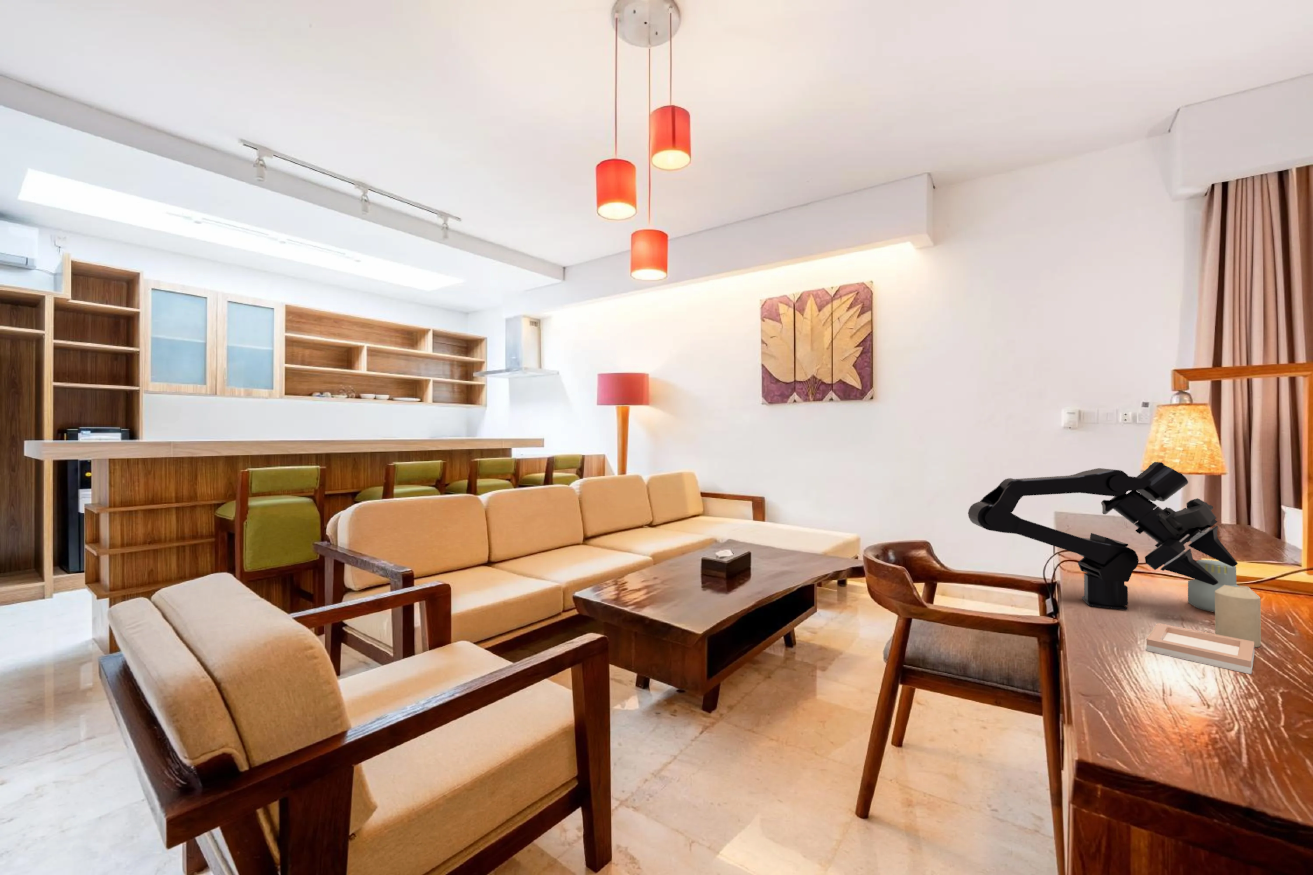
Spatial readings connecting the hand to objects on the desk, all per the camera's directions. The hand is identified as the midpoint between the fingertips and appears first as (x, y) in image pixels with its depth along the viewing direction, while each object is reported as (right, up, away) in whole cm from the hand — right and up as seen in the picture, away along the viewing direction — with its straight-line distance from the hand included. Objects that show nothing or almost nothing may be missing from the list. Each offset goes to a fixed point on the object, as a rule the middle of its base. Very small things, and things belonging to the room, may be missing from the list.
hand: (1226, 574), depth 104 cm
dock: (-19, -10, -14) cm, 26 cm away
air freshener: (+6, -10, +8) cm, 14 cm away
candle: (-8, -10, -9) cm, 16 cm away
